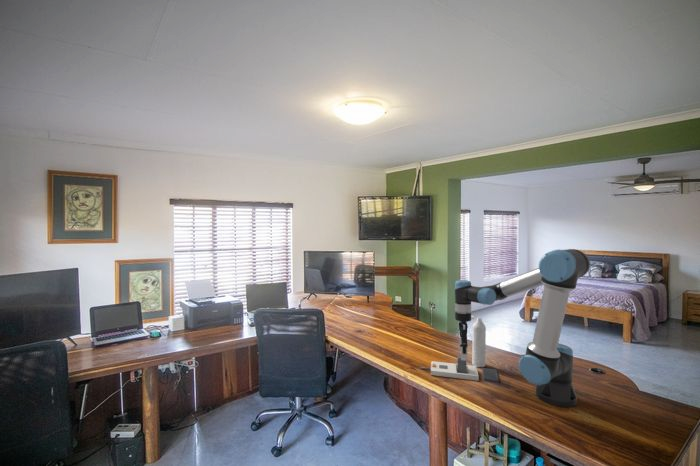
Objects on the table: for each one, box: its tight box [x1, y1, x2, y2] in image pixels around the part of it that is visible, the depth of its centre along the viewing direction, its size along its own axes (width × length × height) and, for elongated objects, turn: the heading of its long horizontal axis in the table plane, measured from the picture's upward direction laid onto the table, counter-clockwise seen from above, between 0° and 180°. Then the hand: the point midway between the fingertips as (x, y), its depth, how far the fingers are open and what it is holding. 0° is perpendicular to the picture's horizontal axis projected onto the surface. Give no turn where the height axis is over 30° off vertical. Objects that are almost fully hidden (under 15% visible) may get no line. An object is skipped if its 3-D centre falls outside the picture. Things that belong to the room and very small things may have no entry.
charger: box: [456, 354, 467, 374], centre depth 167 cm, size 4×4×8 cm
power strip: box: [419, 360, 480, 382], centre depth 169 cm, size 28×12×3 cm, turn 75°
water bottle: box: [471, 315, 487, 368], centre depth 178 cm, size 9×6×25 cm
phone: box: [481, 367, 499, 383], centre depth 164 cm, size 6×12×2 cm, turn 162°
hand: (463, 355), depth 166 cm, fingers open, 13 cm apart
